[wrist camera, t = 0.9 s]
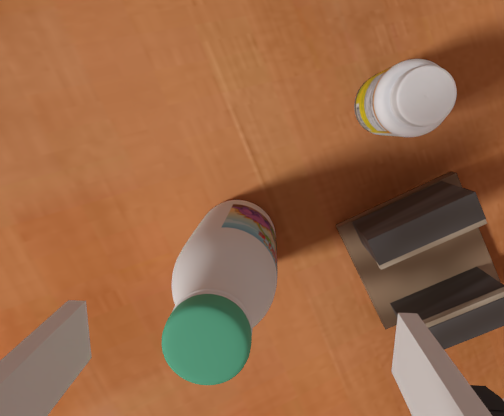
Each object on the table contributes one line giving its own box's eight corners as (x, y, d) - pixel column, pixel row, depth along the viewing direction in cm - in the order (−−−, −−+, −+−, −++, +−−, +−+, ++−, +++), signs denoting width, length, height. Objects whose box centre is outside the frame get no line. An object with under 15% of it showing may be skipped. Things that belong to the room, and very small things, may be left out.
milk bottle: (216, 280, 40) (164, 431, 20) (188, 213, 38) (103, 304, 19) (286, 257, 39) (302, 391, 19) (260, 187, 37) (249, 255, 18)
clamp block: (335, 225, 38) (349, 247, 31) (451, 171, 36) (493, 182, 29) (382, 324, 40) (406, 365, 33) (494, 277, 38) (543, 311, 31)
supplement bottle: (424, 88, 35) (487, 73, 25) (395, 144, 36) (443, 151, 26) (369, 62, 34) (410, 37, 24) (342, 120, 36) (370, 118, 26)
